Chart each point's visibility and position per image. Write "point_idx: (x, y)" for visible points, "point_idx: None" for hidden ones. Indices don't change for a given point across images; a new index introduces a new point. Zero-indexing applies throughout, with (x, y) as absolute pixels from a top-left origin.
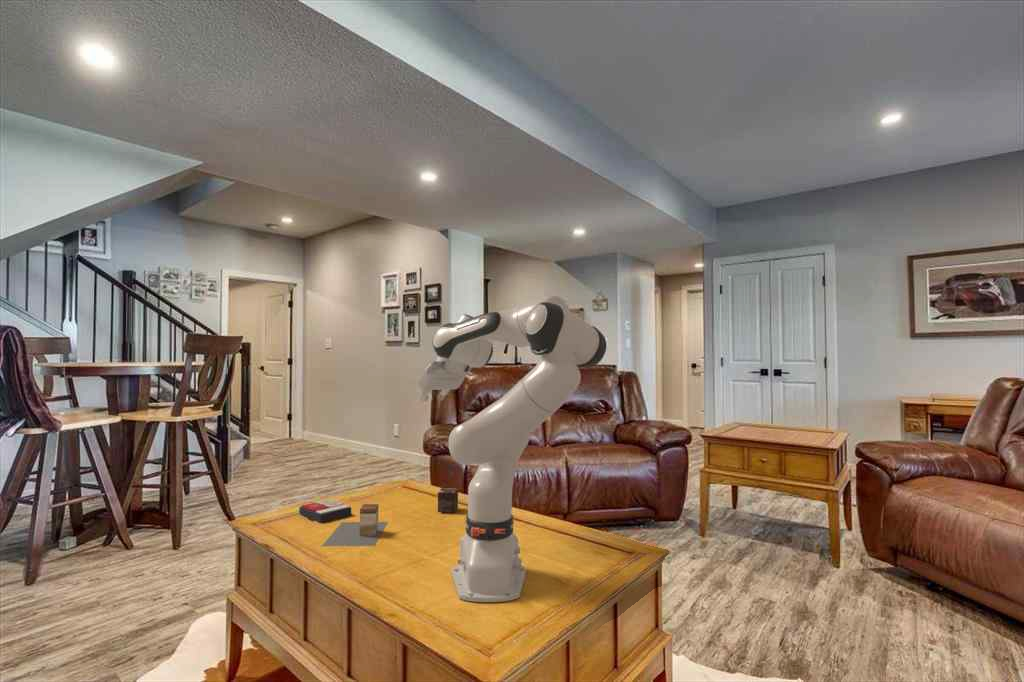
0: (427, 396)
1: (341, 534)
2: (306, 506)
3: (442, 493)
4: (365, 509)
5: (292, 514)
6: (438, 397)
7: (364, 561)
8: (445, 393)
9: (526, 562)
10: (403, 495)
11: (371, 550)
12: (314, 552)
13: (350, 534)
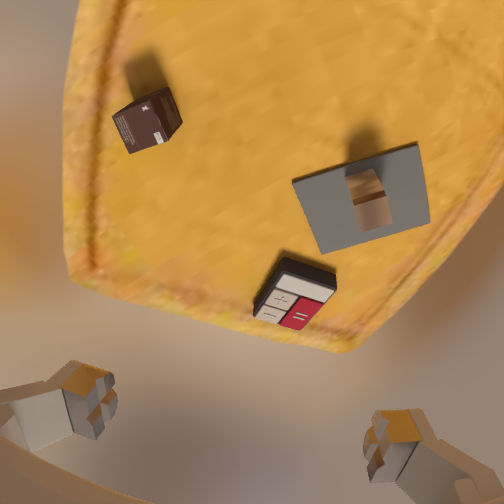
0: (426, 444)
1: None
2: (303, 323)
3: (163, 129)
4: (390, 213)
5: None
6: (110, 404)
7: (468, 133)
8: (34, 404)
9: None
10: (129, 243)
11: (427, 143)
12: (444, 220)
13: None
